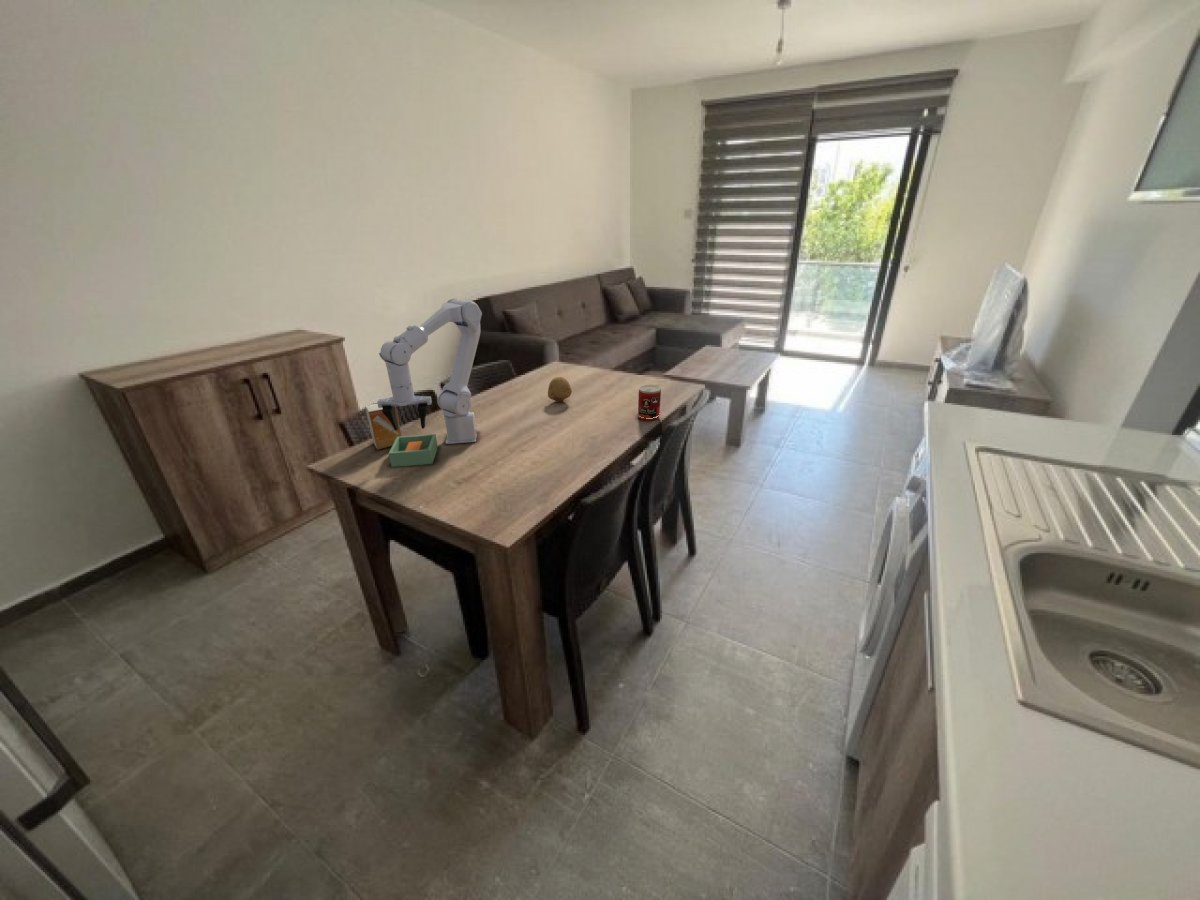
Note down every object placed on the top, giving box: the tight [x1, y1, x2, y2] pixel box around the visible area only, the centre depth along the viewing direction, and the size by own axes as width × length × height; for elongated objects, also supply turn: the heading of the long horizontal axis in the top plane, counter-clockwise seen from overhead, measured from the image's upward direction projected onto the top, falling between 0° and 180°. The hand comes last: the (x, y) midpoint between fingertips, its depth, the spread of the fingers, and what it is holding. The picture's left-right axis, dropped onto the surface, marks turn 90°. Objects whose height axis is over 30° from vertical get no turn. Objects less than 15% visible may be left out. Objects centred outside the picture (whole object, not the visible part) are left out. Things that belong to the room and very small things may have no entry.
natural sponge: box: [547, 376, 573, 403], centre depth 185 cm, size 9×9×10 cm
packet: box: [405, 441, 424, 451], centre depth 145 cm, size 4×7×3 cm, turn 10°
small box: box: [364, 403, 403, 451], centre depth 151 cm, size 8×6×13 cm
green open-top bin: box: [388, 433, 439, 468], centre depth 145 cm, size 12×12×4 cm
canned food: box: [637, 384, 662, 422], centre depth 171 cm, size 8×8×11 cm
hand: (410, 428), depth 142 cm, fingers open, 7 cm apart
